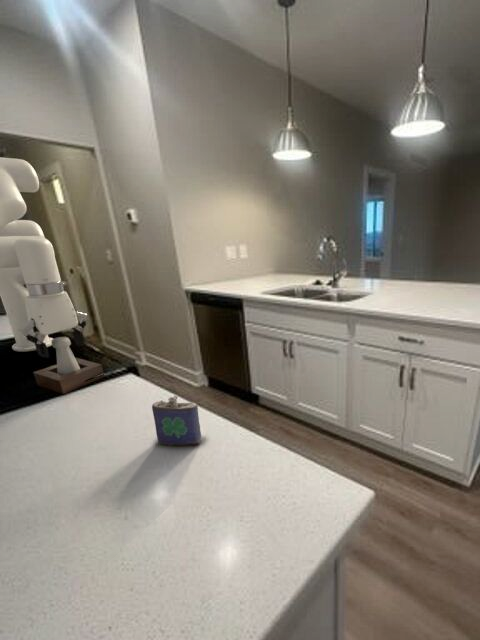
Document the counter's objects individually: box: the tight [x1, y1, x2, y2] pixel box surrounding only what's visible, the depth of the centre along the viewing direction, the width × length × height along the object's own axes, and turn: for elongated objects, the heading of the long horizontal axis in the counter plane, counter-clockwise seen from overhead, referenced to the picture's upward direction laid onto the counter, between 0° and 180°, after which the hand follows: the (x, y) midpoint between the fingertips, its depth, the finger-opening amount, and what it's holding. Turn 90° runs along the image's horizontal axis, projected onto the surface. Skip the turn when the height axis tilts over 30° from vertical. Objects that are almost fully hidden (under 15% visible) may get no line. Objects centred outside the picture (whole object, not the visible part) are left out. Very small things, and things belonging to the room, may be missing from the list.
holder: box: [33, 357, 105, 395], centre depth 98 cm, size 12×12×4 cm
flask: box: [151, 395, 203, 447], centre depth 70 cm, size 9×3×11 cm, turn 87°
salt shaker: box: [51, 336, 80, 375], centre depth 96 cm, size 6×6×13 cm
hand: (63, 350), depth 95 cm, fingers open, 9 cm apart
